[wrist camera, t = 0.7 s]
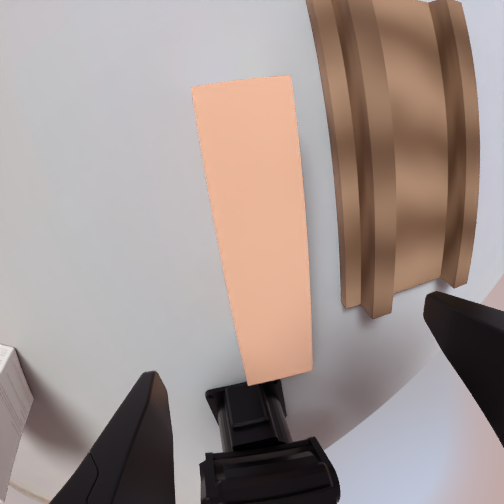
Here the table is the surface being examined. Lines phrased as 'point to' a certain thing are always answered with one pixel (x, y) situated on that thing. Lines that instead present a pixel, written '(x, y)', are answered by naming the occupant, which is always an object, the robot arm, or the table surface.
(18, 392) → the supplement box
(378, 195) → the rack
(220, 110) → the peach rectangular block
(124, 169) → the table surface
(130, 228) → the table surface
